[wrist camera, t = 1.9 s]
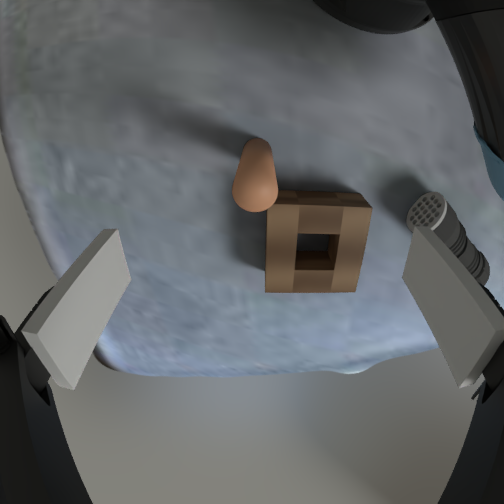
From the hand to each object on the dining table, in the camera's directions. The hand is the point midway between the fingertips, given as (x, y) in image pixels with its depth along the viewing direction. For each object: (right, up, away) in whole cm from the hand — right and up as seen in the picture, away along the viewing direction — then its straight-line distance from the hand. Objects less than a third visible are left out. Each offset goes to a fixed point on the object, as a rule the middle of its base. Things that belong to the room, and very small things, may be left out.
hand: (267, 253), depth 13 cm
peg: (0, +10, +16) cm, 19 cm away
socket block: (+6, +2, +20) cm, 21 cm away
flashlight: (+24, +2, +20) cm, 31 cm away
